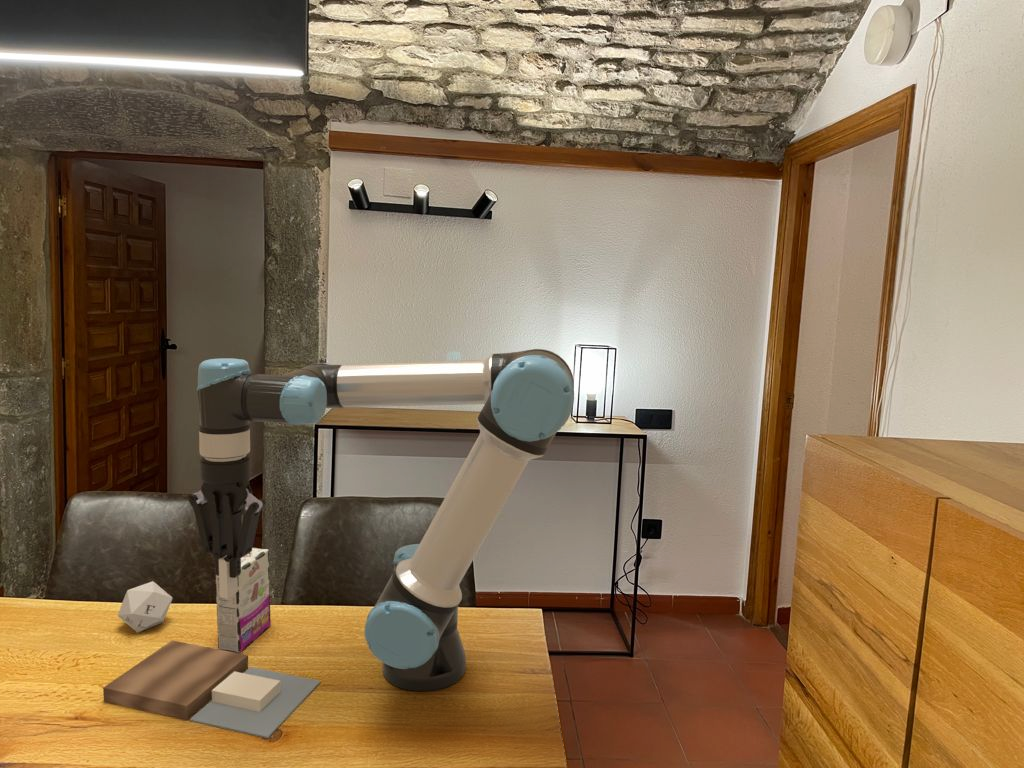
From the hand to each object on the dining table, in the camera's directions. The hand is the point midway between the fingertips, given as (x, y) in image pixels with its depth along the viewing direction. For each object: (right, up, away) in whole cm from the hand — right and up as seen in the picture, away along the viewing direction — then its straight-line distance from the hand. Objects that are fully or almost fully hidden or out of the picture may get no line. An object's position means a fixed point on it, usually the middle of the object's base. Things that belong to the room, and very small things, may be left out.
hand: (228, 594), depth 118 cm
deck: (-11, -17, +5) cm, 21 cm away
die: (-26, -14, +24) cm, 38 cm away
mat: (+4, -18, +1) cm, 19 cm away
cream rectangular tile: (+2, -18, +2) cm, 18 cm away
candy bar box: (-5, -15, +21) cm, 27 cm away
